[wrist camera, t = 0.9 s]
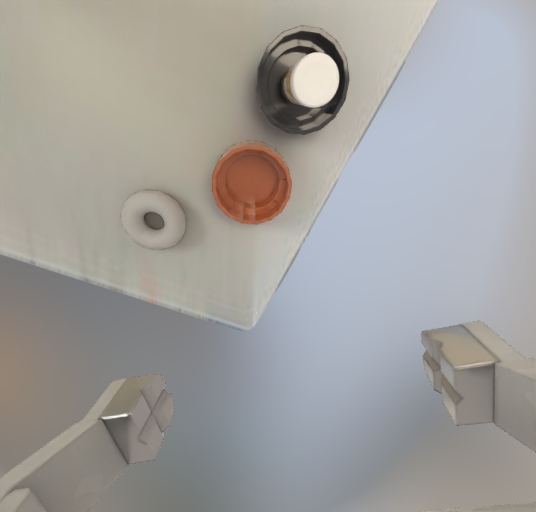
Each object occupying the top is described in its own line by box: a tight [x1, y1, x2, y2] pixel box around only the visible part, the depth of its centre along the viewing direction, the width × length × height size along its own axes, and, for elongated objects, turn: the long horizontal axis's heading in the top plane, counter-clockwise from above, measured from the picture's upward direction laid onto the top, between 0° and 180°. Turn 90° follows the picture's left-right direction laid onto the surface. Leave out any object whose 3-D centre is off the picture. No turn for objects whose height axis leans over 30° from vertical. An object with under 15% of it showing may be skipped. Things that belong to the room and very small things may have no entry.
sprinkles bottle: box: [281, 52, 339, 108], centre depth 33 cm, size 5×5×13 cm
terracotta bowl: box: [212, 140, 292, 224], centre depth 42 cm, size 11×11×6 cm
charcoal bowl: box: [256, 25, 349, 135], centre depth 37 cm, size 11×11×6 cm
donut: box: [121, 190, 186, 250], centre depth 46 cm, size 10×4×10 cm
